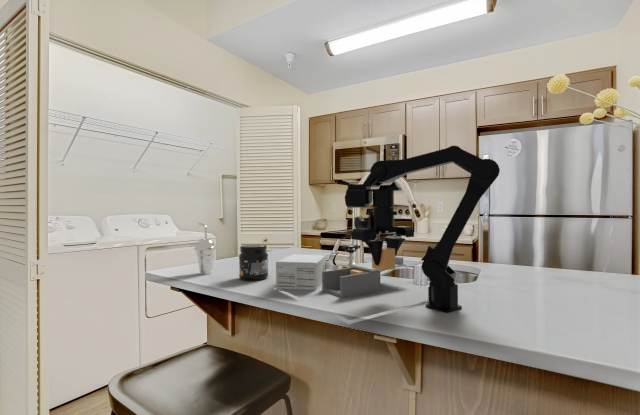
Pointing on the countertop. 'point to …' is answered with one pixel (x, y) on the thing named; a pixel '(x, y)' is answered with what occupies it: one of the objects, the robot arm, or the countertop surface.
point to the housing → (350, 282)
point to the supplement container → (253, 262)
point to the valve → (350, 252)
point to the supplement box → (300, 272)
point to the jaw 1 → (358, 271)
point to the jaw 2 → (386, 259)
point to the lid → (369, 267)
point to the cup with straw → (205, 253)
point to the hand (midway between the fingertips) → (383, 264)
